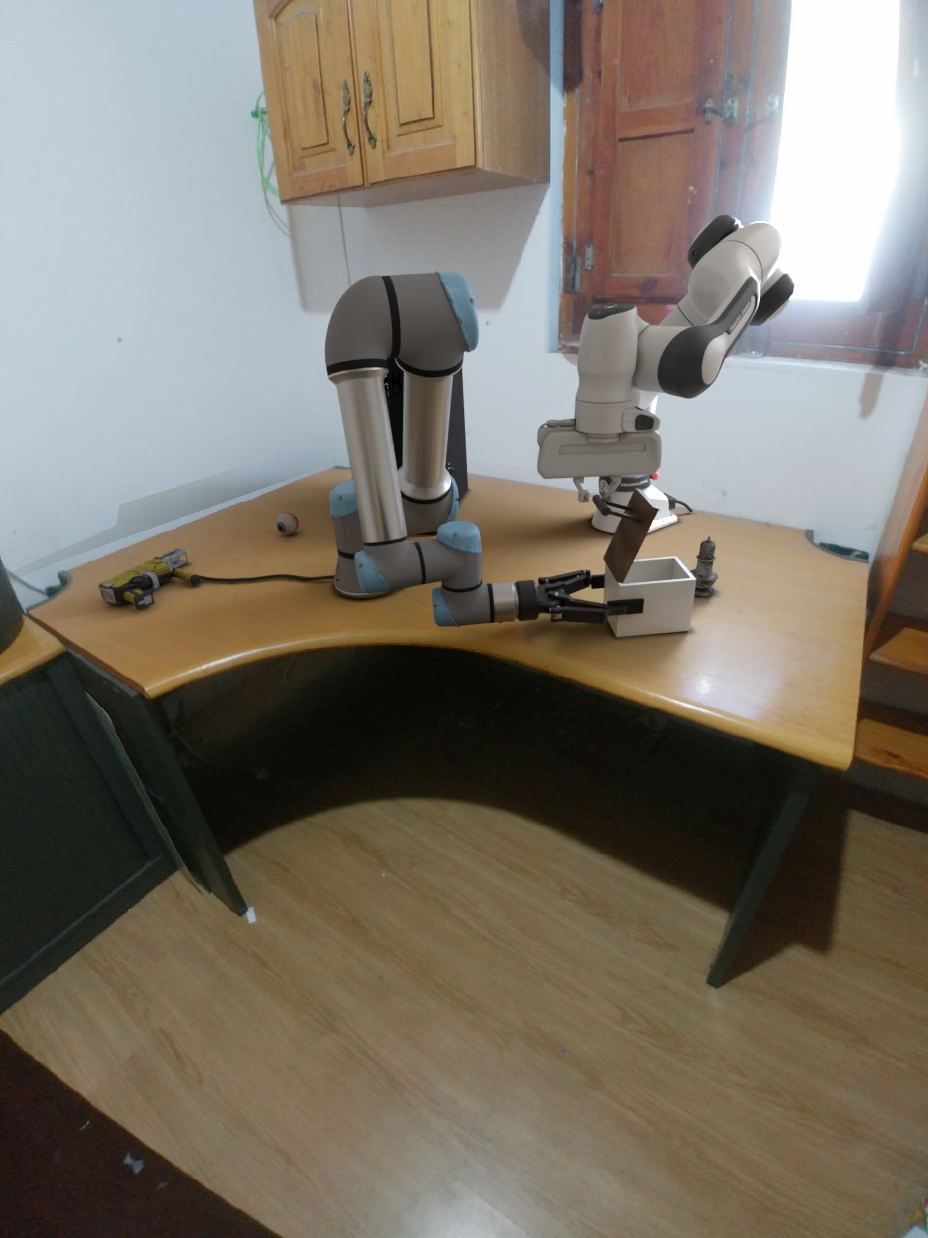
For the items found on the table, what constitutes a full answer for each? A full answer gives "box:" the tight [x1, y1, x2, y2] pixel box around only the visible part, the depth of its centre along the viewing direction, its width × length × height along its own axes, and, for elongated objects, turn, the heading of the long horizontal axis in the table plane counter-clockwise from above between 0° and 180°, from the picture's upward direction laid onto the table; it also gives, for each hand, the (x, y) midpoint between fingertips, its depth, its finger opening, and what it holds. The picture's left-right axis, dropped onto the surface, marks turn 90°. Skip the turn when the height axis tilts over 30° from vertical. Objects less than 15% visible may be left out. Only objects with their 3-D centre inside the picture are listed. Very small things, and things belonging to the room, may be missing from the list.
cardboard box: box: [384, 358, 469, 535], centre depth 166 cm, size 38×20×45 cm, turn 167°
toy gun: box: [98, 547, 202, 611], centre depth 139 cm, size 5×24×15 cm
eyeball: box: [275, 511, 300, 536], centre depth 163 cm, size 6×6×6 cm
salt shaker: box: [689, 536, 719, 597], centre depth 122 cm, size 6×6×12 cm
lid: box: [591, 488, 659, 584], centre depth 106 cm, size 14×10×8 cm
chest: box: [602, 555, 696, 638], centre depth 113 cm, size 14×10×11 cm
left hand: (633, 592), depth 113 cm, fingers closed on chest, 10 cm apart
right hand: (595, 500), depth 103 cm, fingers open, 3 cm apart
